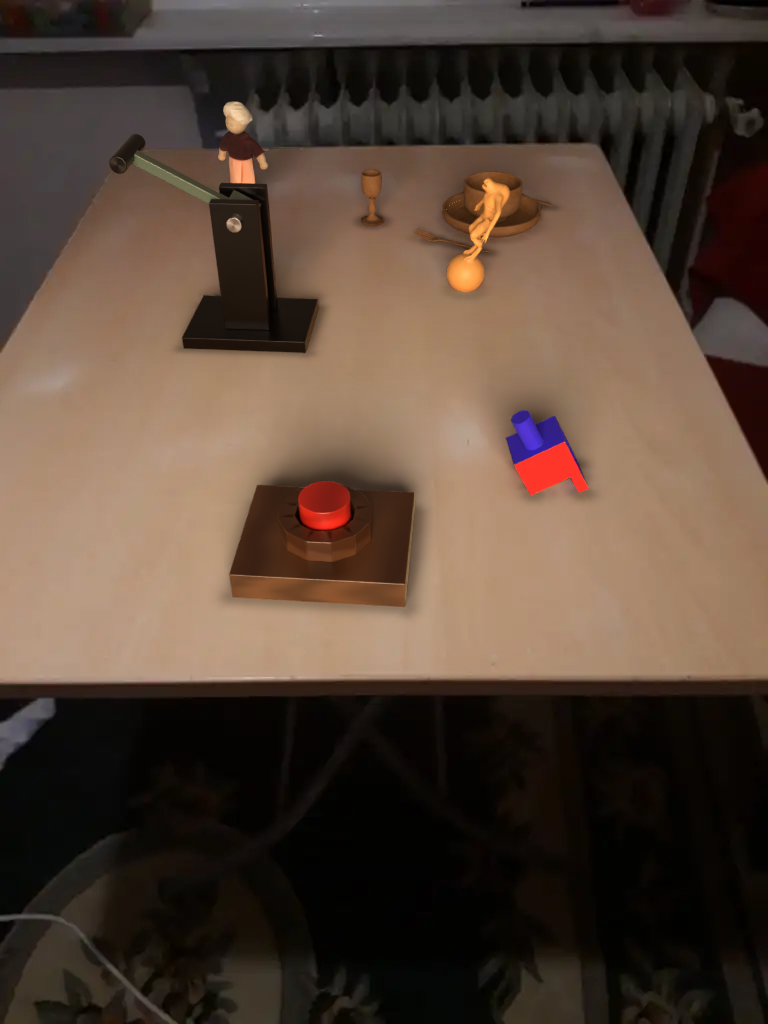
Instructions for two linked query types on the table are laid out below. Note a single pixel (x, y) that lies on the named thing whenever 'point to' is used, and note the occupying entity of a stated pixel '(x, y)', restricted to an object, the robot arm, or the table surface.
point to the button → (324, 506)
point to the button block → (325, 550)
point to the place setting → (469, 205)
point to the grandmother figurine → (240, 145)
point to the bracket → (248, 284)
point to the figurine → (478, 239)
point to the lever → (163, 171)
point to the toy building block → (542, 454)
